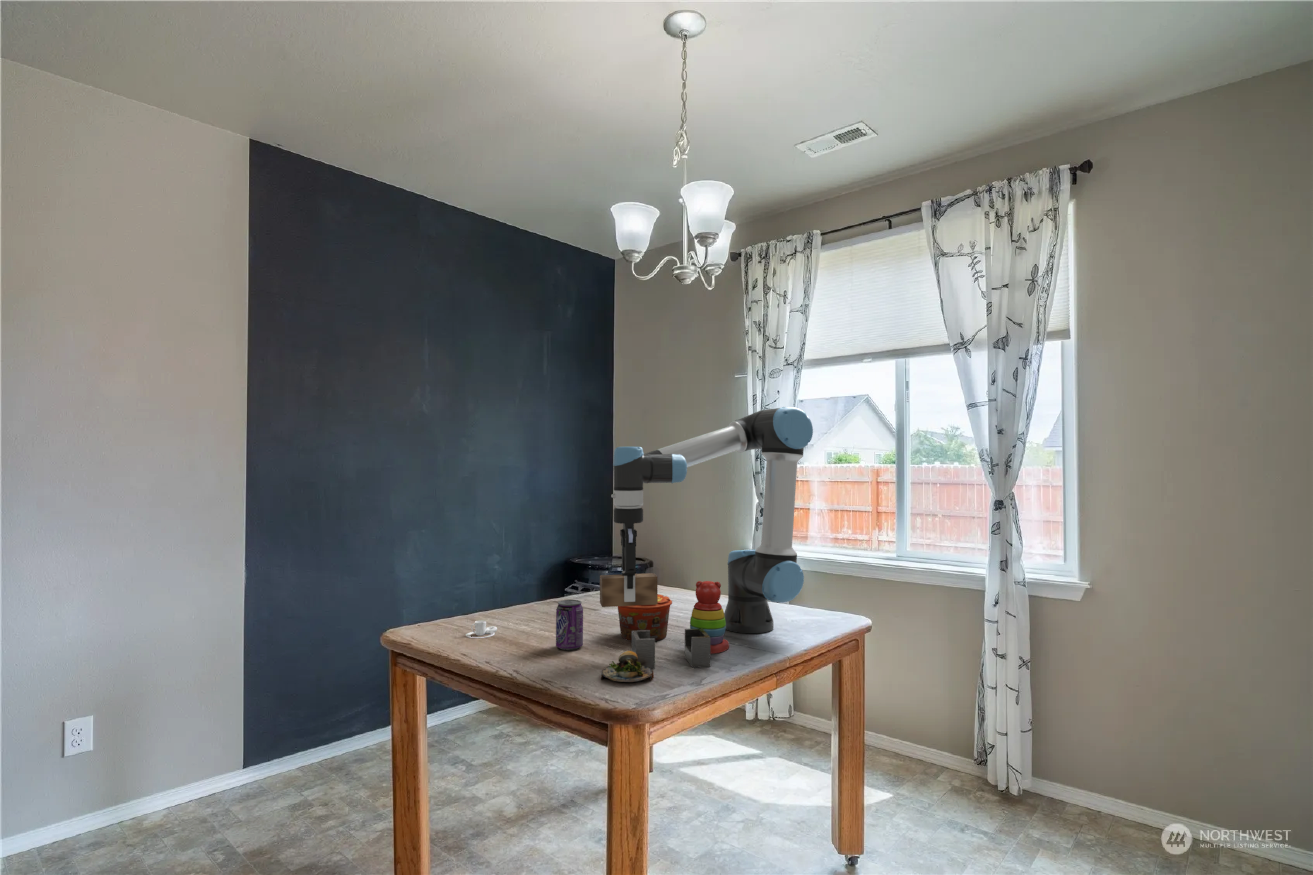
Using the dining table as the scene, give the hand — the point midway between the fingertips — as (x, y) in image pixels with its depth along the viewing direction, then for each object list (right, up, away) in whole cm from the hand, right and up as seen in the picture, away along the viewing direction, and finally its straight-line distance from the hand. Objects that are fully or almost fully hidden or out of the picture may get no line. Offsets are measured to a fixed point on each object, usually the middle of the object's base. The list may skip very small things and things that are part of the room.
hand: (628, 598), depth 175 cm
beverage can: (-16, -15, +7) cm, 23 cm away
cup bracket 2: (+17, -14, -5) cm, 22 cm away
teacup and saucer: (-40, -15, +19) cm, 47 cm away
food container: (+3, -15, +19) cm, 25 cm away
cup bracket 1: (+4, -14, -7) cm, 16 cm away
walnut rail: (0, -1, 0) cm, 1 cm away
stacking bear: (+21, -15, +7) cm, 26 cm away
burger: (0, -14, -18) cm, 23 cm away
